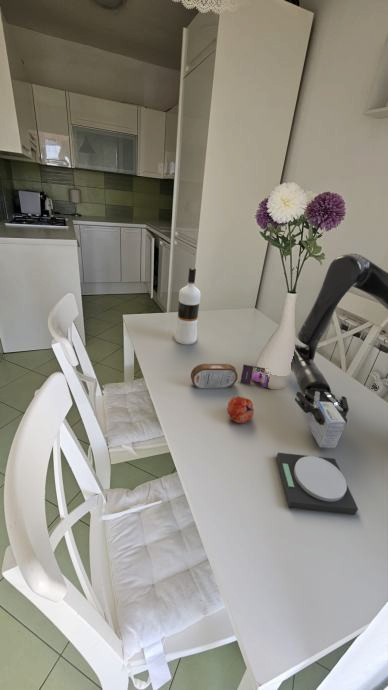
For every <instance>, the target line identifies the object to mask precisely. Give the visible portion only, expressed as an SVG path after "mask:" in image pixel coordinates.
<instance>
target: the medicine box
mask: <svg viewBox="0 0 388 690" xmlns="http://www.w3.org/2000/svg"><path fill="white" fill-rule="evenodd" d="M317 404H318V406H319V408H318V409H320V410H321V412H322V414H323V416H324V418H325V420H324V423H323V425H319V423H318V422H316V420H315V418H314V416H313V415H312V414H311V416H310V418H309V421H308V424H307V427H308V428H309V431H310V432H311V434H312V436H313V437H314V439H315V442H316V443H317V445H318V447H319V448H334V449H335V448H336V447H337V445H338V443H339V440H340V438H341V436H342V433H343V431H344V429H345V427H346V425H347V423H346V422H345V421H344V419H343V418H342V416H341V415H340V413H339V412H338V410H337V409H336V408H335V406H334V405H333V403H332V402H317ZM345 424H346V425H345ZM344 426H345V427H344Z"/></svg>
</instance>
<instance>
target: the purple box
mask: <svg viewBox="0 0 388 690" xmlns="http://www.w3.org/2000/svg"><path fill="white" fill-rule="evenodd" d="M254 369H255V370H256V372H254ZM253 372H254V373H253ZM261 373H262V374H261ZM263 373H265V374H263ZM266 373H267V374H269V371H268V370H267V371H266V370H265V367H260V366H255V365H248V364H243V365H242V371H241V375H240V376H241V377H240V384H245V385H246V384H247V385H251V382H252V381H253V382H255V383H260V382H262V381H263V380H264V382H263V384H262V385H261V387H262V388H267V389H268V386H269V382H270V379H269V380H268V375H266ZM262 375H263V376H262ZM264 376H265V377H264ZM262 378H263V379H262Z"/></svg>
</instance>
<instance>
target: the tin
mask: <svg viewBox="0 0 388 690" xmlns="http://www.w3.org/2000/svg"><path fill="white" fill-rule="evenodd" d="M236 369H237V368H236V367H235V366H234V365H232V364H229V363H201V364H198V365H196V366H195V367H193V369H192V370H191V373H190V379H191V383H192V384H193V386H195V388H198V389H212V388H213V389H215V388H217V389H218V388H220V389H221V388H231V387H233V386H234V385H235V384H236V382H237V380H238V373H237V370H236Z"/></svg>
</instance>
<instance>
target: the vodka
mask: <svg viewBox="0 0 388 690" xmlns="http://www.w3.org/2000/svg"><path fill="white" fill-rule="evenodd" d="M196 272H197V269H196V268H195V267H189V269H188V277H187V285H185V286H183V287H182V288H180V289H179V292H178V307H177V317H176V320H177V321H176V327H175V332H174V337H173V338H174V341H175V342H177V343H178V344H180V345H181V344H182V345H193V344H195V343H197V340H198V334H197V328H198V322H199V309H200V303H201V297H202V293H201V290H200V289H199V288H198V287H196V286H195V283H196Z"/></svg>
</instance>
